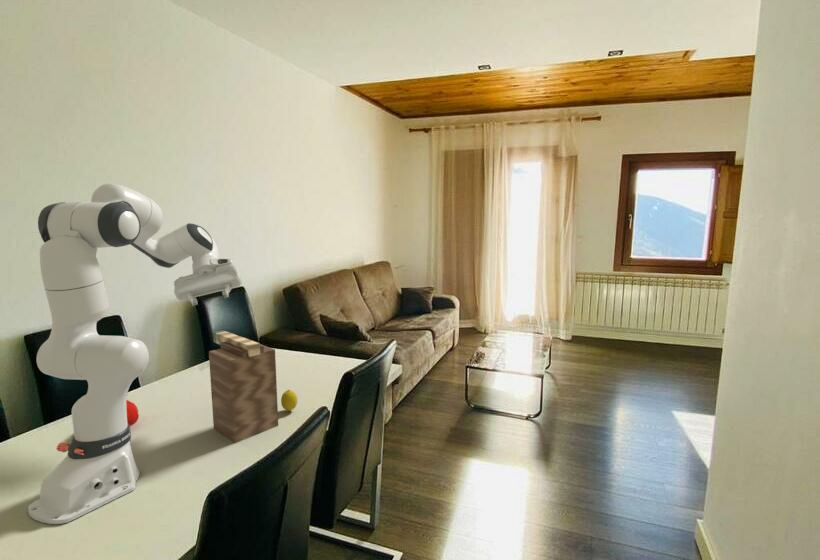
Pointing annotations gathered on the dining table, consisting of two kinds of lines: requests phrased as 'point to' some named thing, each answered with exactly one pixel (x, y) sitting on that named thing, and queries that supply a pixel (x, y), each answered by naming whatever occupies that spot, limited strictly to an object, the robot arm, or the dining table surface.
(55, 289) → the robot arm
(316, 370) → the dining table surface
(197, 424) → the dining table surface
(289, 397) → the lemon
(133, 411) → the tomato
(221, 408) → the walnut mount
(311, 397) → the dining table surface
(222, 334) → the oak bar
